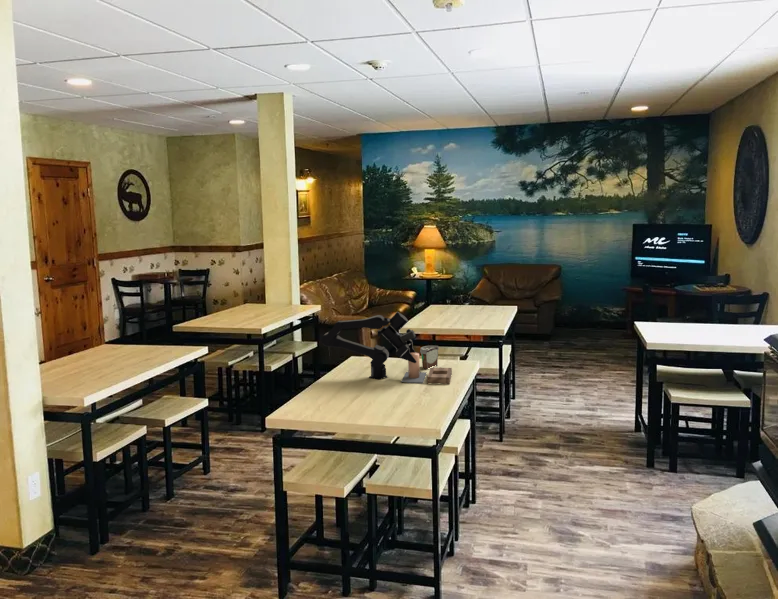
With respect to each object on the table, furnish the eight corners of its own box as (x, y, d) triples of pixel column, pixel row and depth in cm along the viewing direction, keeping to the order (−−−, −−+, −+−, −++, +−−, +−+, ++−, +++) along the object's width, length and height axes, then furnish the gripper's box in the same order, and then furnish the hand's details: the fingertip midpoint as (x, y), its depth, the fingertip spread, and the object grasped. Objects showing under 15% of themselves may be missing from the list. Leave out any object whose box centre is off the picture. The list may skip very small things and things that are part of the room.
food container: (428, 363, 336) (428, 344, 335) (438, 365, 333) (438, 345, 331) (415, 368, 326) (415, 348, 325) (425, 370, 323) (425, 350, 321)
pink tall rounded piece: (406, 377, 308) (405, 354, 306) (412, 374, 312) (412, 352, 310) (415, 378, 304) (415, 355, 303) (421, 376, 308) (421, 353, 307)
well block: (427, 383, 298) (427, 377, 298) (430, 373, 316) (430, 367, 315) (449, 384, 297) (449, 377, 296) (451, 374, 314) (451, 367, 314)
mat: (401, 383, 300) (401, 381, 300) (405, 373, 318) (405, 371, 318) (423, 383, 298) (423, 382, 298) (426, 373, 316) (426, 372, 316)
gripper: (402, 328, 296) (427, 352, 296) (407, 321, 314) (430, 344, 314) (385, 345, 298) (410, 369, 298) (391, 337, 317) (414, 360, 316)
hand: (416, 360), depth 307 cm, fingers open, 9 cm apart
